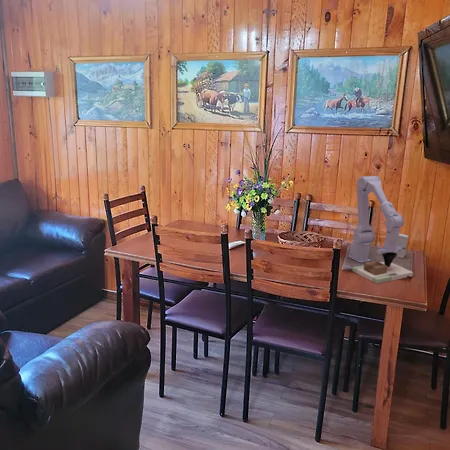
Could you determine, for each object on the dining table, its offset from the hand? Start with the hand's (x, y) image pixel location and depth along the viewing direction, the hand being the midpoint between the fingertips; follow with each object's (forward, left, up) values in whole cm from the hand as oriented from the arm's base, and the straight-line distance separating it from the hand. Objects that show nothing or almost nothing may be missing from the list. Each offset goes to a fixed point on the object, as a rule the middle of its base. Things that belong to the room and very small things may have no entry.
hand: (387, 266), depth 215 cm
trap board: (0, -3, -3) cm, 4 cm away
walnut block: (0, -8, -1) cm, 8 cm away
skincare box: (-14, +25, -4) cm, 29 cm away
